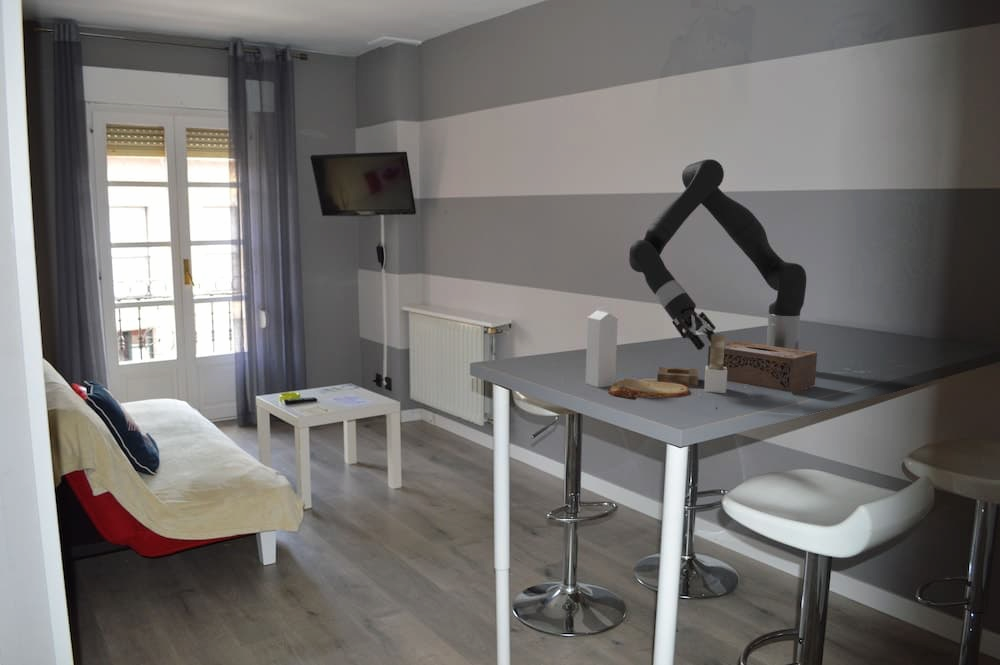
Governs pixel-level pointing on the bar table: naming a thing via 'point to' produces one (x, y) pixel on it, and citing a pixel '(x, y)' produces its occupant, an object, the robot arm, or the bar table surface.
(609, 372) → the milk
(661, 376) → the socket block
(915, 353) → the bar table surface
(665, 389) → the bread slice
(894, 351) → the bar table surface
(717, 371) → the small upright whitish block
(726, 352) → the tissue box cover
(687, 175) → the robot arm
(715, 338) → the dowel
